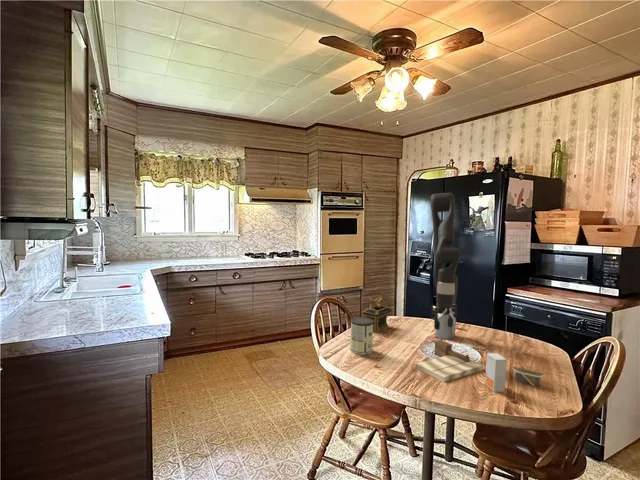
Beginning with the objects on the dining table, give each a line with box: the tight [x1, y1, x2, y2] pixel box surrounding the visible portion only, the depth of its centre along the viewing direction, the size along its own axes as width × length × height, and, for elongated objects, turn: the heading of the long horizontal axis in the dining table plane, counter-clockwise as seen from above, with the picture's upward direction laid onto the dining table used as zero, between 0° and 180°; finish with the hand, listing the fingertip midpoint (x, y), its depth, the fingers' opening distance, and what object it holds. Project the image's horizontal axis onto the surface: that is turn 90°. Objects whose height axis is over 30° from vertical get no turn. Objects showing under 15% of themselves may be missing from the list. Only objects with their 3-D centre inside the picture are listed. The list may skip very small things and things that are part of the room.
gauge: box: [433, 339, 471, 362], centre depth 155 cm, size 4×17×6 cm, turn 31°
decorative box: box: [362, 291, 393, 333], centre depth 197 cm, size 20×10×20 cm, turn 141°
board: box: [415, 355, 485, 383], centre depth 145 cm, size 24×14×2 cm, turn 121°
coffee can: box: [349, 316, 374, 355], centre depth 162 cm, size 10×10×14 cm
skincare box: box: [484, 352, 508, 393], centre depth 129 cm, size 6×4×12 cm
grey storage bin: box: [512, 365, 545, 387], centre depth 134 cm, size 12×18×7 cm, turn 57°
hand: (443, 328), depth 158 cm, fingers open, 8 cm apart
